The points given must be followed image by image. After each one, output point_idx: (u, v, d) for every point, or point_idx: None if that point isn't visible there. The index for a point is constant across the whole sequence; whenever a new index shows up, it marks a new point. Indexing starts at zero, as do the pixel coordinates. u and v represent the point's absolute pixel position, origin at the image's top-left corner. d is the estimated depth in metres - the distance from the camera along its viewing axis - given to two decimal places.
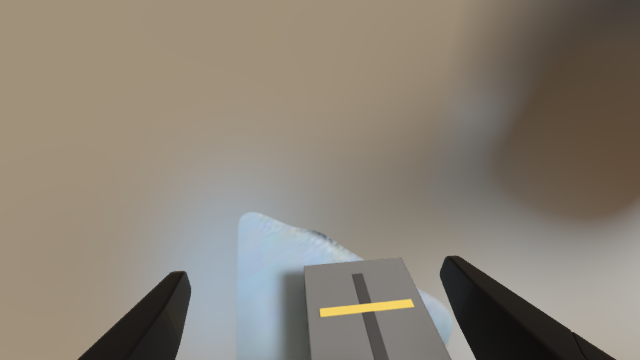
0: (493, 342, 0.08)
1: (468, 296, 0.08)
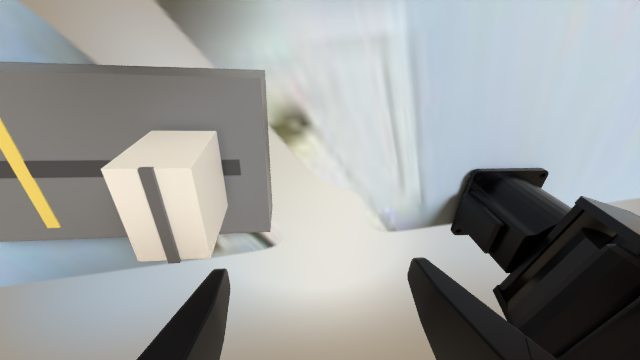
0: (451, 346, 0.07)
1: (430, 299, 0.08)
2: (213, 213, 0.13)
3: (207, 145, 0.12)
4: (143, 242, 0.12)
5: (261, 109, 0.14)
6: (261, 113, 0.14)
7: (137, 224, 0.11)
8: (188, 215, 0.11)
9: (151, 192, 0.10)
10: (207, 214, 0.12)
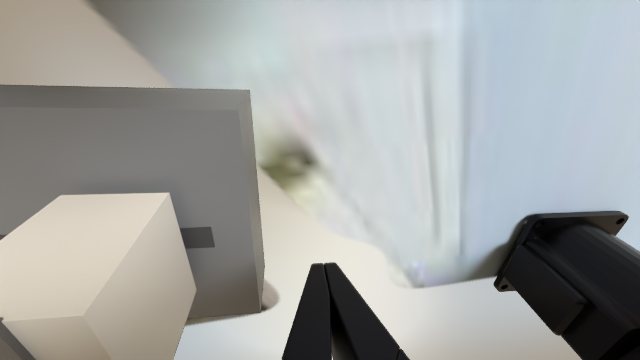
0: (340, 357, 0.07)
1: (329, 306, 0.08)
2: (161, 335, 0.08)
3: (143, 231, 0.07)
4: None
5: (242, 156, 0.09)
6: (242, 162, 0.09)
7: None
8: None
9: None
10: (144, 353, 0.07)
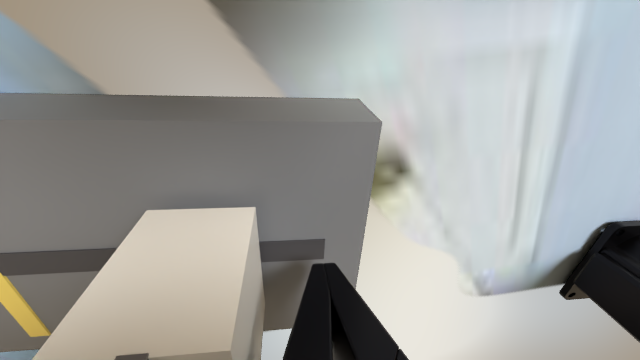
0: (339, 357, 0.07)
1: None
2: (255, 357, 0.08)
3: (248, 251, 0.07)
4: None
5: (373, 168, 0.09)
6: (372, 174, 0.09)
7: None
8: None
9: None
10: None
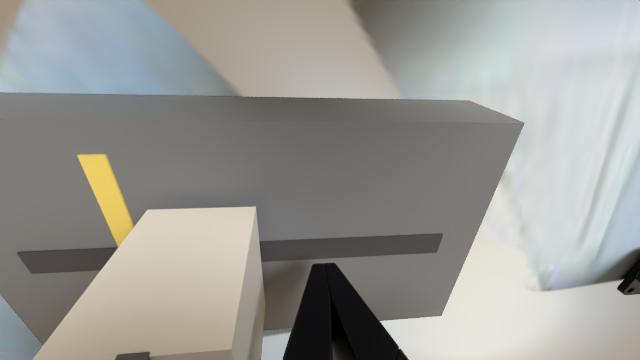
0: (339, 357, 0.07)
1: None
2: (255, 356, 0.08)
3: (248, 250, 0.07)
4: None
5: (504, 166, 0.09)
6: (501, 172, 0.09)
7: None
8: None
9: None
10: None
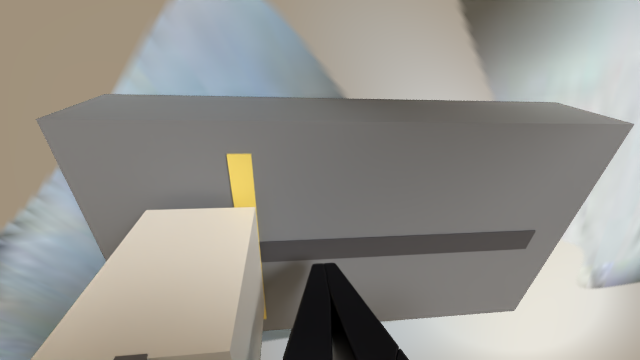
0: (339, 357, 0.07)
1: None
2: (254, 357, 0.08)
3: (248, 251, 0.07)
4: None
5: (605, 165, 0.10)
6: (602, 171, 0.10)
7: None
8: None
9: None
10: None
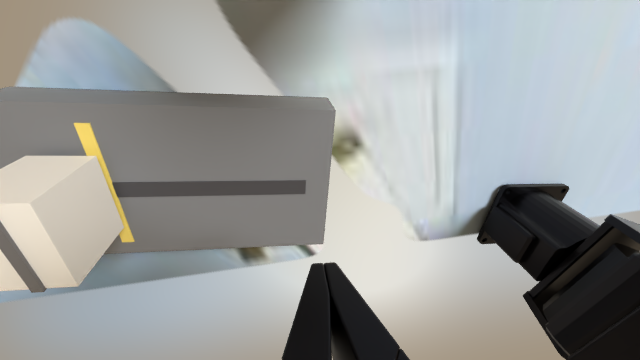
0: (340, 357, 0.07)
1: (329, 306, 0.08)
2: (87, 239, 0.13)
3: (72, 173, 0.12)
4: None
5: (332, 136, 0.16)
6: (331, 140, 0.16)
7: None
8: (40, 247, 0.11)
9: None
10: (72, 243, 0.12)
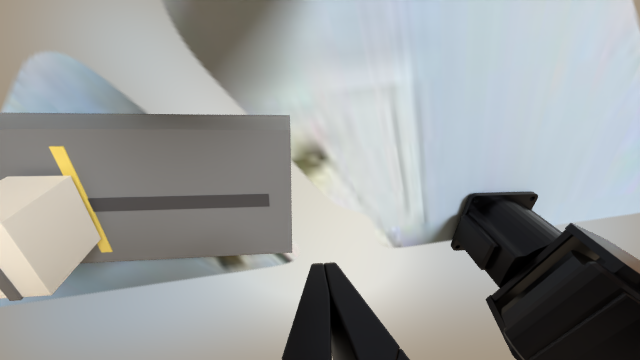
0: (340, 357, 0.07)
1: (329, 306, 0.08)
2: (60, 252, 0.15)
3: (45, 193, 0.14)
4: None
5: (289, 153, 0.17)
6: (289, 156, 0.17)
7: None
8: (14, 260, 0.13)
9: None
10: (45, 256, 0.14)
